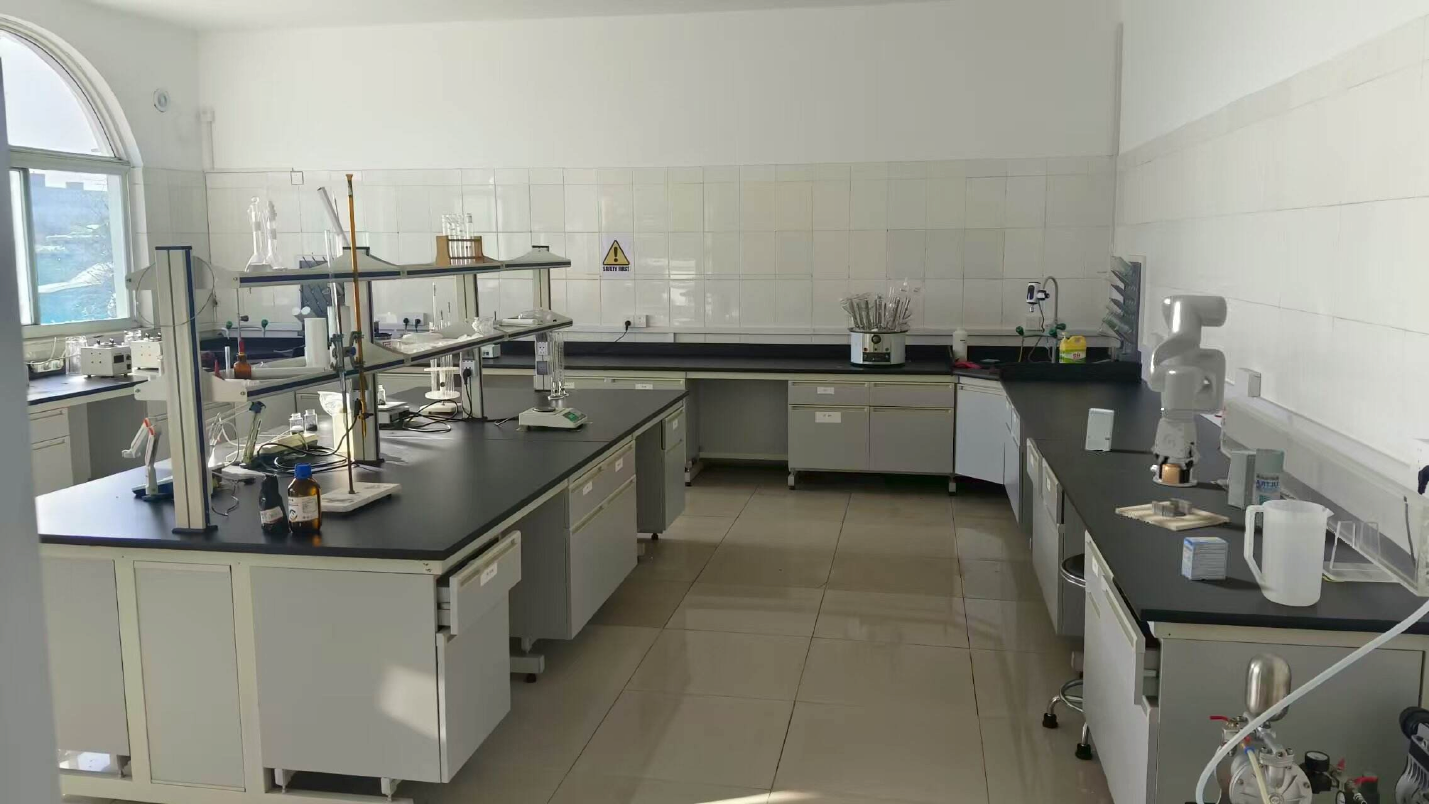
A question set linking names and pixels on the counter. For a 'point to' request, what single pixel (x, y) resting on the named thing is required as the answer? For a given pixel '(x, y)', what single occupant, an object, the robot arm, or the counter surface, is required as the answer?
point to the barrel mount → (1172, 515)
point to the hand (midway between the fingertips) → (1173, 480)
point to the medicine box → (1204, 558)
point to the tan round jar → (1171, 473)
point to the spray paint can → (1267, 477)
